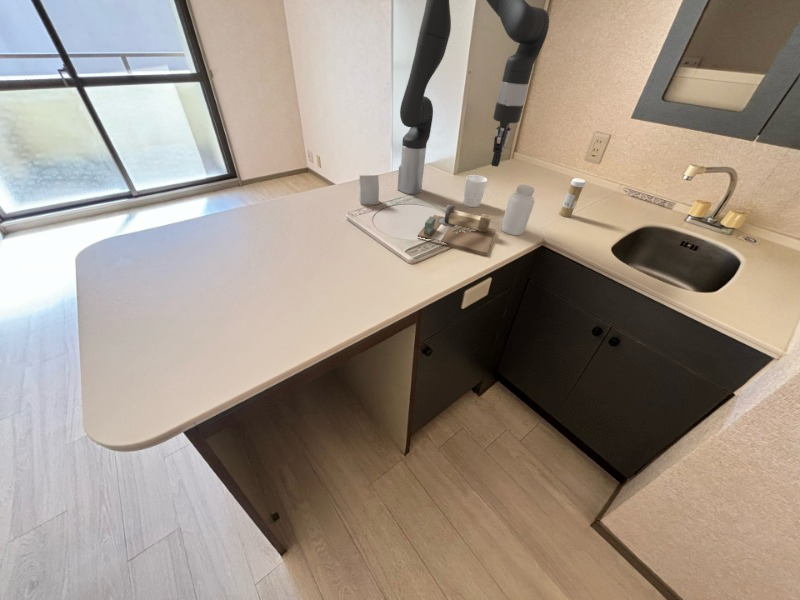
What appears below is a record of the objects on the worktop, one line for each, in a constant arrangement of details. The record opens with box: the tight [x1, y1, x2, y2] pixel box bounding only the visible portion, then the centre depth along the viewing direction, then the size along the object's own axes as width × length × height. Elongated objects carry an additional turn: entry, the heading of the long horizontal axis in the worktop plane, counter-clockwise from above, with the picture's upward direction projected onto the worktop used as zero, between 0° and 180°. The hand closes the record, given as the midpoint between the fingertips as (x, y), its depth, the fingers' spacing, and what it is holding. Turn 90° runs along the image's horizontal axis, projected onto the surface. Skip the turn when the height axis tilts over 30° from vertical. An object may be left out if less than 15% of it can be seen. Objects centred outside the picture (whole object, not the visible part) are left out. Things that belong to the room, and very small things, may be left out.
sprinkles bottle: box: [558, 177, 586, 218], centre depth 122 cm, size 5×5×13 cm
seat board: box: [417, 214, 497, 257], centre depth 105 cm, size 22×17×5 cm
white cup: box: [462, 174, 488, 208], centre depth 125 cm, size 8×8×10 cm
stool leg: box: [444, 204, 492, 232], centre depth 107 cm, size 15×3×5 cm, turn 67°
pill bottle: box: [500, 184, 535, 236], centre depth 107 cm, size 8×8×15 cm
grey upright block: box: [358, 174, 380, 205], centre depth 119 cm, size 4×7×10 cm, turn 103°
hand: (494, 165), depth 102 cm, fingers closed
